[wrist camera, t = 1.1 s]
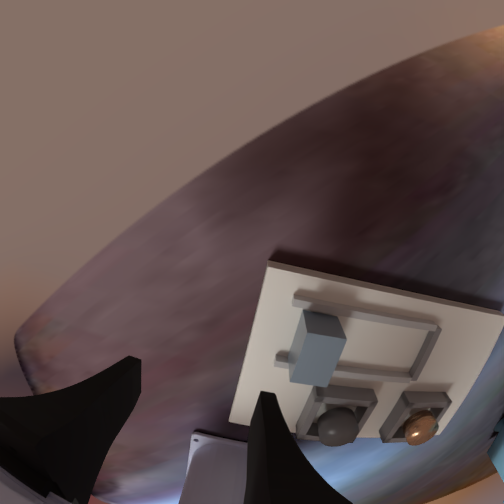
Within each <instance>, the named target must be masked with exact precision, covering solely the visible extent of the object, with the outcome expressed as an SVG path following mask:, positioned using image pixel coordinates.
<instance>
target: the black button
mask: <svg viewBox="0 0 504 504" xmlns="http://www.w3.org/2000/svg"><path fill="white" fill-rule="evenodd" d="M317 425H318V433H319V439H320V442H321V443H322V444H324V445H327V446H341V445H345V444H347V443H349V442H351V441H352V440H354V439H355V438H356V437H357V435H358V433H359V427H358V423H357V420H356V416H355V413H354V412H353V411H352V410H351V409H349V408H346V407H337V408H333V409H330V410H328V411H326V412H324V413H323V414H322V415H321V416H320V417H319V419H318V421H317Z"/></svg>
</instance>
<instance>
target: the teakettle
mask: <svg viewBox="0 0 504 504" xmlns="http://www.w3.org/2000/svg"><path fill="white" fill-rule="evenodd" d="M494 431H496V432H499V433H498V435H497V437H496V438H495V440H494V442H493V443H492V445H491V447H490V448H489V450H488V452H487V454H488V455H489V457H490V459H491V460H492V462H493V464H494V466H495V467H496V469H497V471H498V473H499V474H500V476H501V478H502V480H503V482H504V418H503V419H501V420H500V421H499V422H498V423H497V425H496V426H495V428H494ZM503 503H504V501H503Z"/></svg>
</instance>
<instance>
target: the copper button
mask: <svg viewBox="0 0 504 504" xmlns="http://www.w3.org/2000/svg"><path fill="white" fill-rule="evenodd" d="M438 429H439V424H438V422H437V421H436V419H435V417H434V415H433V414H432V412H431V411H429V410H422V411H419V412H417V413H415V414H413V415H412V416H410V417H409V418H408V419H407V420H406V421H405V422H404V424H403V426H402V430H403V433H404V435H405V437H406V440H407V442H408V444H409V445H419V444H422V443H424V442H426V441H428V440H429V439H431V438H432V437H433V436H434V435H435V434H436V432H437V431H438Z"/></svg>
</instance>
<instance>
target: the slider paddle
mask: <svg viewBox="0 0 504 504" xmlns="http://www.w3.org/2000/svg"><path fill="white" fill-rule="evenodd" d="M346 341H347V338H346V335H345V333H344V331H343V328H342V326H341V324H340V321H339V319H338V317H337V316H332V315H327V314H322V313H317V312H311V311H306V310H302V313H301V316H300V320H299V323H298V326H297V329H296V332H295V335H294V339H293V342H292V345H291V348H290V351H289V354H288V364H289V381H290V382H292V383H299V384H305V385H312V386H320V387H327V386H328V384H329V382H330V379H331V377H332V375H333V372H334V370H335V368H336V366H337V363H338V361H339V358H340V356H341V354H342V351H343V349H344V346H345V344H346Z"/></svg>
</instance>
